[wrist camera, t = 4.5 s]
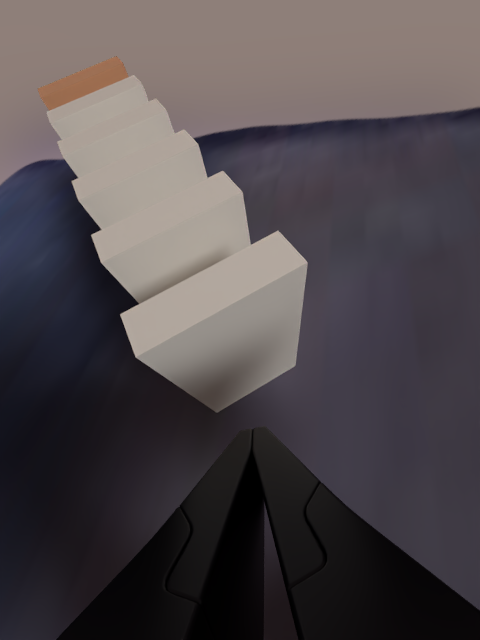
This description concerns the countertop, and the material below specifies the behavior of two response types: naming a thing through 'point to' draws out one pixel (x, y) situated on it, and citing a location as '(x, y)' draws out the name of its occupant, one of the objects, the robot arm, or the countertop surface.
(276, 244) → the domino
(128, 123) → the domino
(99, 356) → the countertop surface
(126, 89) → the domino
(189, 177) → the domino
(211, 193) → the domino
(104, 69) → the domino
